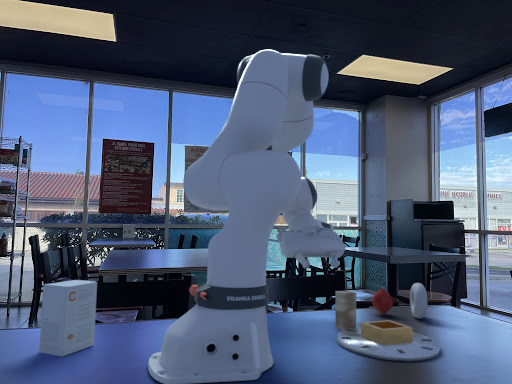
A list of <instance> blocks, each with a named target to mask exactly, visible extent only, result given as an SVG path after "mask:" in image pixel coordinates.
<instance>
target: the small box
mask: <svg viewBox="0 0 512 384" xmlns="http://www.w3.org/2000/svg"><path fill="white" fill-rule="evenodd" d="M97 292H98V281H94V280H93V281H92V280H85V279H84V280H83V279H82V280H81V279H74V280H73V279H72V280H65V281H59V282H53V283H45V284H42V299H41V300H42V301H41V314H40V315H41V317H40V319H41V320H40V330H39V331H40V332H39V333H40V335H39V349H38V350H39V351H38V352H39V353H40V354H45V355H46V354H47V355H51V356H55V357H63V358H64V357H65V356H68V355H70V354H74V353H76V352H78V351H81V350H85V349H87V348H90V347H92V346H95V335H96V334H95V332H96V331H95V330H96V312H97V311H96V310H97V296H98V295H97Z"/></svg>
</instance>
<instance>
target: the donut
mask: <svg viewBox="0 0 512 384" xmlns="http://www.w3.org/2000/svg"><path fill="white" fill-rule="evenodd" d="M409 305H410V311H411V314H412V316H413V317H414V318H416V319H419V320H420V319H421V320H422V319H423V318H425V316H426V314H427V311H428V293H427V290H426V287H425V286H424V284H422V283H420V282H415V283H413V284H412V286H411V288H410V293H409Z"/></svg>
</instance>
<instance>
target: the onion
mask: <svg viewBox="0 0 512 384" xmlns="http://www.w3.org/2000/svg"><path fill="white" fill-rule="evenodd" d="M371 303H372V306H373V308H374V310H376V311H377V312H378V313H379V314H380V315H383V316H384V315H386V314H387V313H388V312H389V311H391V310H392V308H393V306H394V305H393V304H394V302H393V298H392V296H391V294H390V293H389V292H388V291H386V289H385V287H380V289H379V290H378V291H376V292H375V293H374V294H373V297H372V299H371Z"/></svg>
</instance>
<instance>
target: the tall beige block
mask: <svg viewBox="0 0 512 384" xmlns="http://www.w3.org/2000/svg"><path fill="white" fill-rule="evenodd" d="M356 327H357V292H356V291H351V290H335V328H336V329H339V330H340V331H342V330H345V329H349V328H356Z"/></svg>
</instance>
